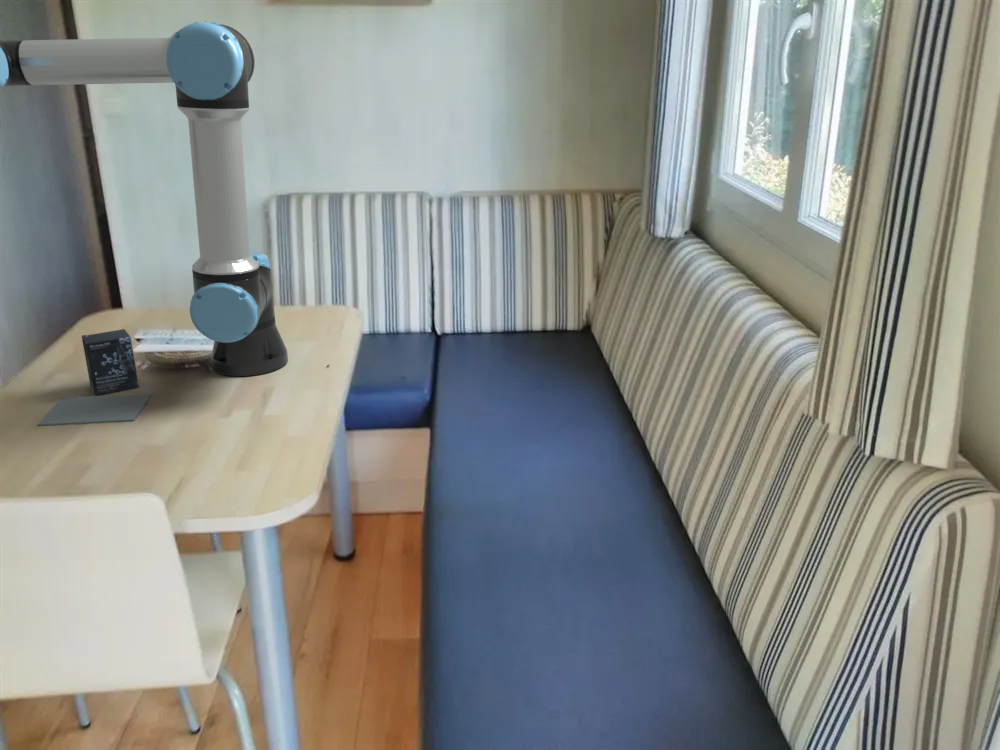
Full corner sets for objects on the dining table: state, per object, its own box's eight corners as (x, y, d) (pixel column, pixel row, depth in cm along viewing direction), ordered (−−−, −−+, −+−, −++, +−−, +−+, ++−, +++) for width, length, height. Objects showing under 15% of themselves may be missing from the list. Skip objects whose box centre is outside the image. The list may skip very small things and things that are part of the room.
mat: (151, 395, 159) (151, 393, 159) (134, 420, 148) (133, 419, 148) (61, 399, 157) (61, 397, 157) (37, 426, 146) (37, 424, 146)
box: (95, 396, 159) (85, 343, 155) (90, 387, 163) (80, 335, 159) (139, 388, 163) (131, 335, 159) (133, 379, 167) (124, 328, 163)
